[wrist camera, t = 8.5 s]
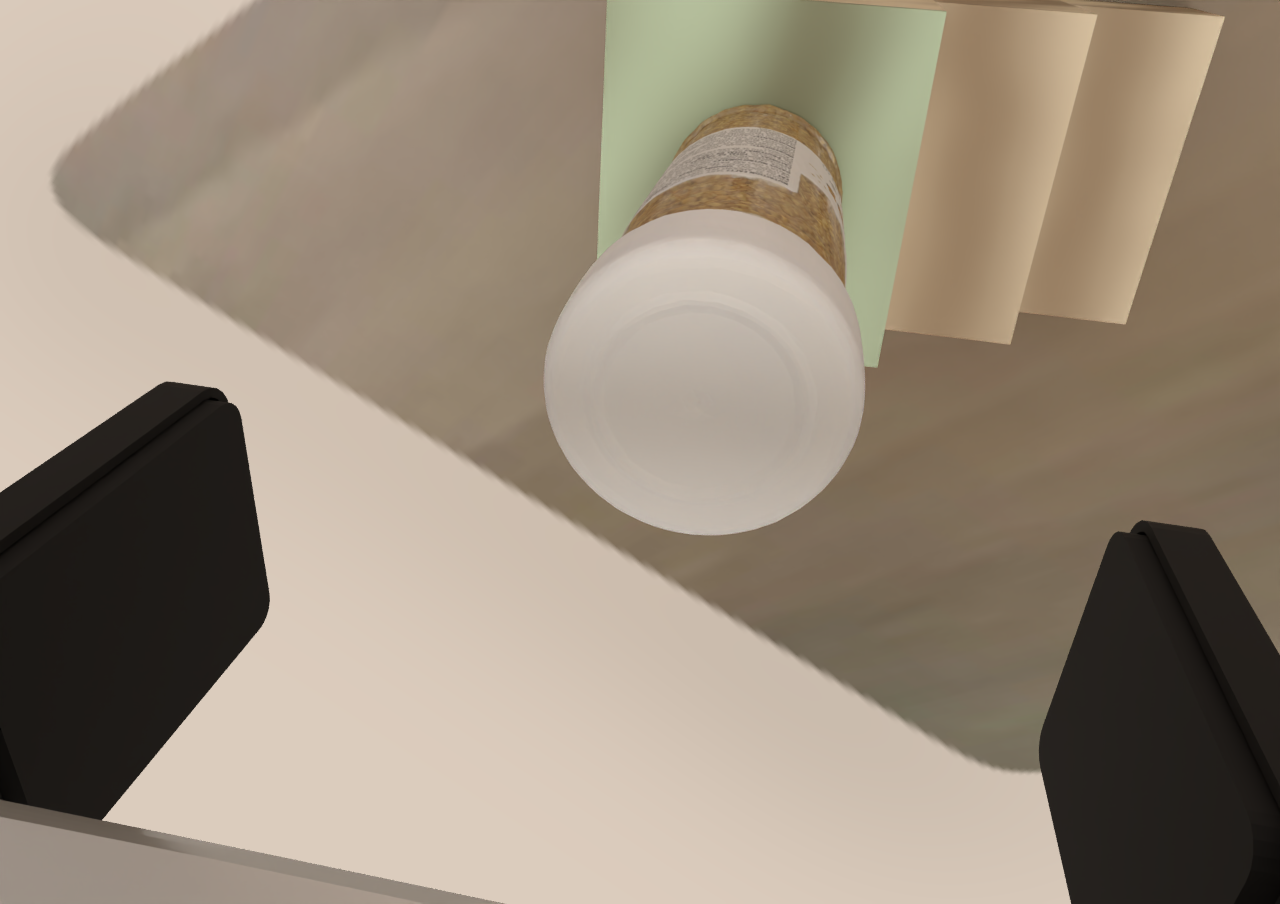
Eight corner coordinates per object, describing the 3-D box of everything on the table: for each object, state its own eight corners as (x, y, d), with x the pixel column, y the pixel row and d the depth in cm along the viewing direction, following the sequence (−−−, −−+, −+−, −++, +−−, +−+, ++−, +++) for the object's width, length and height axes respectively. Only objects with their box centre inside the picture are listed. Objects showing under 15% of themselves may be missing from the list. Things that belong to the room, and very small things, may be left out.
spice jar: (834, 281, 26) (849, 561, 14) (664, 273, 27) (542, 534, 15) (851, 99, 24) (886, 250, 12) (666, 95, 24) (526, 234, 13)
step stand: (1190, 8, 29) (1317, 40, 21) (1099, 306, 34) (1176, 422, 26) (665, -32, 31) (607, -15, 24) (646, 255, 36) (593, 348, 28)
